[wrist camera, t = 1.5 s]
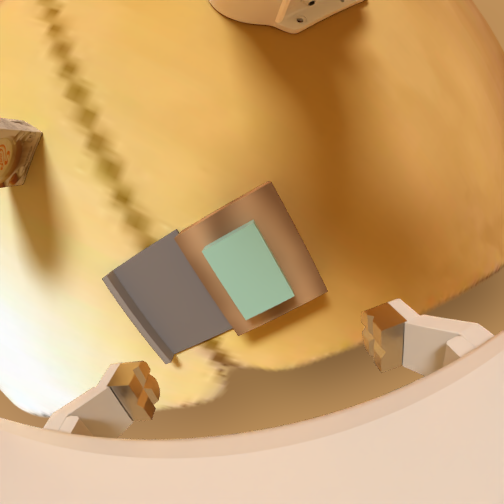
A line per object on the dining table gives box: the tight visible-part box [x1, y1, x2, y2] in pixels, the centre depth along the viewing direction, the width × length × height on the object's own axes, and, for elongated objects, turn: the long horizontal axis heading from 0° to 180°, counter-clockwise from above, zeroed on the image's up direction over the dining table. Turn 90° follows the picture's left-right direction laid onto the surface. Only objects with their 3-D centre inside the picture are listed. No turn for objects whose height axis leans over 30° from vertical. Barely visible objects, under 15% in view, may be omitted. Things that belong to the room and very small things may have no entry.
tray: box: [102, 229, 232, 364], centre depth 35 cm, size 12×15×2 cm
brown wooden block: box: [174, 181, 328, 336], centre depth 33 cm, size 12×14×4 cm
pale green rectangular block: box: [202, 219, 295, 320], centre depth 30 cm, size 6×9×2 cm, turn 29°
